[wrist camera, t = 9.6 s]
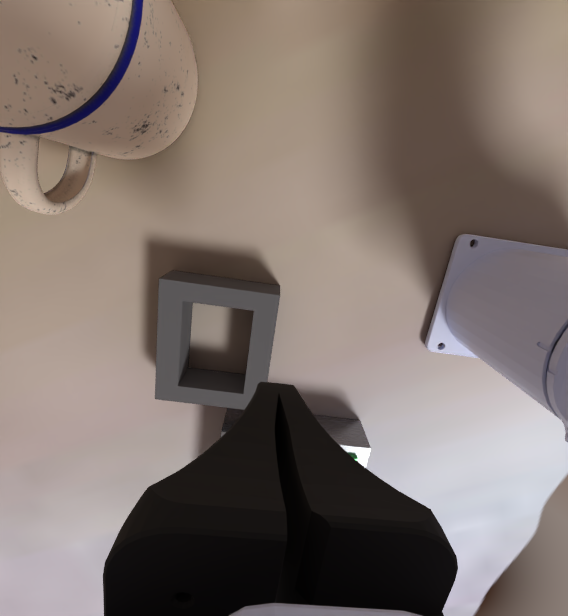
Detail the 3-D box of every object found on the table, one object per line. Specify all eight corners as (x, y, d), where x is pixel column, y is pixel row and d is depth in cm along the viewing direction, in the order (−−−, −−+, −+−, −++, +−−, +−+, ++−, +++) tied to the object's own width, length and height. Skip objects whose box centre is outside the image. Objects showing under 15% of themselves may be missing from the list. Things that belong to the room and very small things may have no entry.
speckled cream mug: (40, -59, 16) (-513, -675, 5) (220, 6, 17) (105, -388, 6) (27, 189, 19) (-316, 164, 8) (177, 232, 20) (52, 263, 9)
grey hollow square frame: (279, 285, 21) (280, 295, 19) (264, 391, 24) (262, 411, 21) (172, 270, 21) (158, 278, 18) (167, 379, 23) (154, 398, 21)
